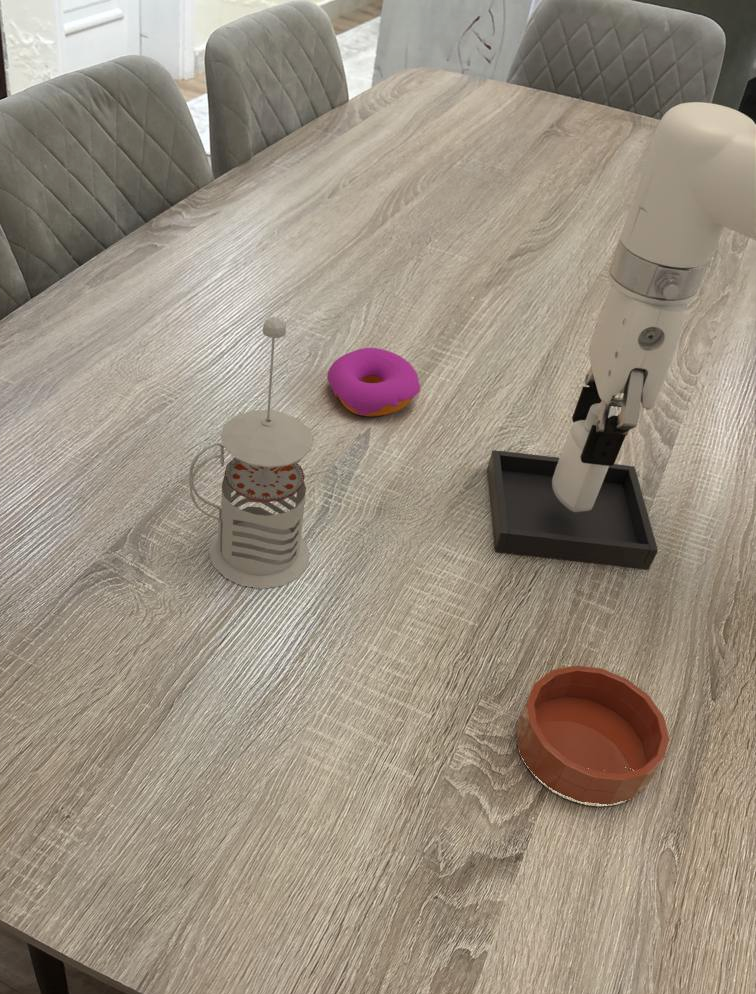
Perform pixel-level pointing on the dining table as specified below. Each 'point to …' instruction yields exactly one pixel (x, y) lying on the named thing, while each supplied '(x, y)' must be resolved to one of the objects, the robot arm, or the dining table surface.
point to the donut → (373, 381)
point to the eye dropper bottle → (579, 467)
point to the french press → (261, 493)
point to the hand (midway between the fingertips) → (592, 441)
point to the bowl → (591, 735)
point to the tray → (567, 514)
